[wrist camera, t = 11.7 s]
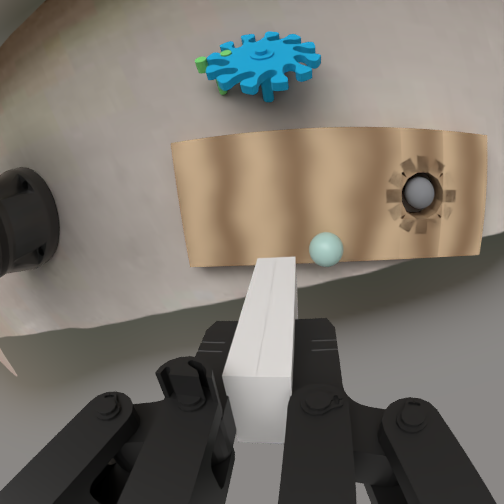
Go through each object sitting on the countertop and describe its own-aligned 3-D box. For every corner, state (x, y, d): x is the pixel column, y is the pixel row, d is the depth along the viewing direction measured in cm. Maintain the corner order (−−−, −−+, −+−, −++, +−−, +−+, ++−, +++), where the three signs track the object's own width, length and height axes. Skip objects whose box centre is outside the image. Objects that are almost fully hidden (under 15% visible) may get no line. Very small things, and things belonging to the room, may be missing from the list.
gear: (324, 28, 23) (313, 83, 19) (325, 76, 28) (314, 139, 24) (213, 29, 25) (173, 82, 22) (225, 72, 31) (193, 131, 27)
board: (197, 257, 35) (190, 267, 33) (179, 142, 30) (170, 143, 28) (469, 246, 30) (479, 254, 27) (475, 134, 25) (486, 135, 23)
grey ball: (427, 209, 29) (400, 207, 29) (427, 178, 28) (400, 176, 29) (439, 210, 26) (409, 208, 26) (438, 176, 25) (409, 174, 26)
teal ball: (309, 259, 31) (310, 273, 28) (308, 228, 29) (308, 239, 27) (341, 258, 30) (345, 271, 27) (341, 226, 29) (345, 238, 26)
